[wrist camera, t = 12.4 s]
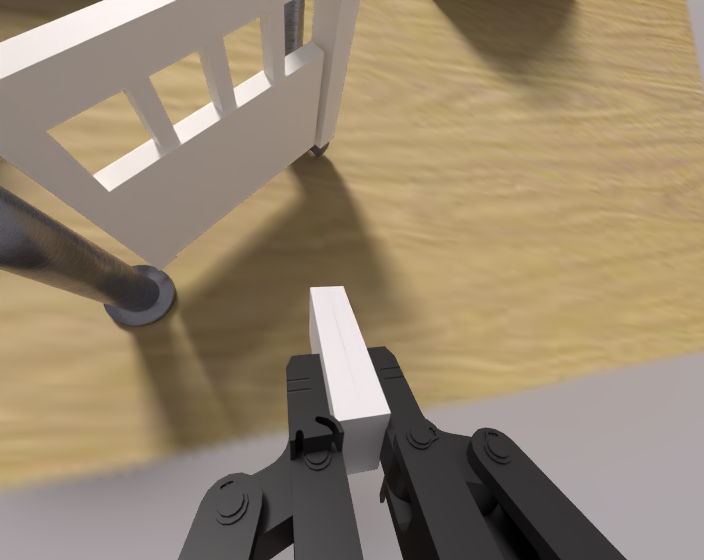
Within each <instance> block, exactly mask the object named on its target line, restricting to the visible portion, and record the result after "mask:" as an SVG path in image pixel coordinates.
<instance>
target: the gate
mask: <svg viewBox="0 0 704 560" xmlns="http://www.w3.org/2000/svg"><path fill="white" fill-rule="evenodd" d="M290 1H292V0H103V1H101V2H98V3H96V4H93V5H91V6H88V7H86V8H83V9H81V10H79V11H76V12H74V13H71V14H69V15H66V16H64V17H61V18H59V19H57V20H54V21H52V22H49V23H47V24H44V25H42V26H39V27H37V28H34V29H32V30H30V31H27V32H25V33H22V34H20V35H17V36H15V37H12V38H10V39H8V40H5V41H3V42H0V156H1V157H2V158H4V159H5V160H6V161H8V162H9V163H11V164H12V165H13V166H15V167H16V168H18V169H19V170H20V171H22V172H23V173H24V174H26V175H27V176H29V177H30V178H31V179H33V180H34V181H36V182H37V183H38V184H40V185H41V186H43V187H44V188H45V189H47V190H48V191H50V192H51V193H52V194H54V195H55V196H56V197H58V198H59V199H61V200H62V201H63V202H65V203H66V204H68V205H69V206H70V207H72V208H73V209H75V210H76V211H77V212H79V213H80V214H81V215H83V216H84V217H86V218H87V219H88V220H90V221H91V222H93V223H94V224H95V225H97V226H98V227H100V228H101V229H102V230H104V231H105V232H107V233H108V234H109V235H111V236H112V237H113V238H115V239H116V240H118V241H119V242H120V243H122V244H123V245H125V246H126V247H127V248H129V249H130V250H132V251H133V252H134V253H136V254H137V255H139V256H140V257H141V258H143V259H144V260H145V261H147V262H148V263H150V264H151V265H152V266H154V267H155V268H157V269H158V270H159V271H161V270H162V269H163V268H164V267H166V266H167V265H168V264H169V263H171V262H172V261H173V260H174V259H176V258H177V256H176V255H177V254H178V253H179V252H181V251H182V250H183V249H184V248H186V247H187V246H188V245H189V244H191V243H192V242H193V241H194V240H196V239H197V238H198V237H199V236H201V235H202V234H203V233H204V232H206V231H207V230H208V229H209V228H211V227H212V226H213V225H215V224H216V223H217V222H218V221H220V220H221V219H222V218H223V217H225V216H226V215H227V214H228V213H230V212H231V211H232V210H233V209H235V208H236V207H237V206H238V205H240V204H241V203H242V202H243V201H245V200H246V199H247V198H249V197H250V196H251V195H252V194H254V193H255V192H256V191H257V190H259V189H260V188H261V187H262V186H264V185H265V184H266V183H267V182H269V181H270V180H271V179H272V178H274V177H275V176H276V175H277V174H279V173H280V172H281V171H282V170H284V169H285V168H286V167H288V166H289V165H290V164H291V163H293V162H294V161H295V160H296V159H298V158H299V157H300V156H301V155H303V154H304V153H305V152H306V151H308V150H309V149H310V150H311V151H312V152H313V153H314V154H315V155H316V156H320V155H322V154H323V153H324V152H325V150H326V149H327V147H328V145H329V141H330V140H332V139H333V138H334V133H335V127H336V122H337V117H338V112H339V107H340V101H341V96H342V91H343V86H344V81H345V76H346V70H347V65H348V60H349V55H350V50H351V44H352V39H353V34H354V29H355V24H356V18H357V13H358V8H359V3H360V0H314V9H313V24H312V39H311V41H310V42H308V43H307V44H305V45H303V46H302V47H300V48H298V49H297V50H295V51H294V52H292V53H290V54H289V55H287V56H285V33H284V4H286V3H288V2H290ZM258 18H260V29H261V41H262V52H263V64H264V70H263V71H261V72H259V73H258V74H256V75H255V76H253V77H251V78H250V79H248V80H246V81H245V82H243V83H242V84H240V85H238V86H237V87H235V88H234V89H233V84H232V79H231V74H230V69H229V65H228V60H227V55H226V50H225V45H224V40H223V37H224V36H226V35H228V34H230V33H231V32H233V31H235V30H237V29H239V28H241V27H243V26H245V25H247V24H248V23H250V22H252V21H254V20H256V19H258ZM196 51H198V54H199V57H200V61H201V64H202V67H203V71H204V74H205V78H206V81H207V84H208V88H209V91H210V95H211V98H212V102H211V103H209V104H208V105H206V106H204V107H203V108H201V109H199V110H198V111H196V112H195V113H193V114H191V115H190V116H188V117H186V118H185V119H183V120H182V121H180V122H178V123H177V124H175V125H172V123H171V121H170V119H169V117H168V115H167V113H166V111H165V109H164V107H163V105H162V103H161V101H160V99H159V97H158V95H157V93H156V91H155V89H154V87H153V85H152V83H151V81H150V79H149V76H151V75H153V74H154V73H156V72H158V71H160V70H162V69H164V68H166V67H168V66H169V65H171V64H173V63H175V62H177V61H179V60H181V59H183V58H185V57H186V56H188V55H190V54H192V53H194V52H196ZM121 91H123V92H124V94H125V95H126V97H127V98H128V100H129V102H130V103H131V105H132V107H133V108H134V110H135V112H136V113H137V115H138V116H139V118H140V120H141V121H142V123H143V125H144V126H145V128H146V130H147V131H148V133H149V134H150V136H151V138H152V139H151V140H149V141H148V142H146V143H144V144H143V145H141V146H139V147H138V148H136V149H135V150H133V151H131V152H130V153H128V154H126V155H125V156H123V157H122V158H120V159H118V160H117V161H115V162H113V163H112V164H110V165H109V166H107V167H105V168H104V169H102V170H100V171H99V172H97V173H96V174H94V175H91V174H90V173H89V172H88V171H87V170H86V169H85V168H84V167H83V166H82V165H81V164H80V163H79V162H78V161H77V160H76V159H74V158H73V157H72V156H71V155H70V154H69V153H68V152H67V151H66V150H65V149H64V148H63V147H62V146H61V145H60V144H59V143H58V142H57V141H56V140H55V139H54V138H52V137H51V136H50V135H49V134H48V133H47V132H46V131H47V130H49V129H51V128H53V127H55V126H57V125H59V124H61V123H62V122H64V121H66V120H68V119H70V118H72V117H74V116H76V115H77V114H79V113H81V112H83V111H85V110H87V109H89V108H91V107H92V106H94V105H96V104H98V103H100V102H102V101H104V100H106V99H107V98H109V97H111V96H113V95H115V94H117V93H119V92H121Z"/></svg>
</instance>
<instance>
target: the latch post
mask: <svg viewBox="0 0 704 560" xmlns="http://www.w3.org/2000/svg"><path fill="white" fill-rule="evenodd" d="M304 6H305V0H292V1H290V2H288V3H286V4H284V33H285V56H287V55H289V54H290V53H292V52H294V51H295V50H297V49H298V48H300V47H302V46H303V30H304Z"/></svg>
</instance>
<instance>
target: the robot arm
mask: <svg viewBox="0 0 704 560" xmlns="http://www.w3.org/2000/svg"><path fill="white" fill-rule="evenodd" d="M309 337H310V343H311V350H312V354H309V355H298V356H292V357H291V359H290V361H289V363H288V365H287V367H286V373H287V400H288V424H289V441H288V444H287V447H286V449H285V451H284V452H283V454H282V455H281V456H280V457H279V458H278V459H277V460H276V462H274V463H273V464H271V465H270V466H268V467H266V468H265V469H263V470H261V471H259V472H257V473H255V474H254V475H248V474H244V473H235V474H229V475H228V476H226V477H224V478H222V479H220V480H218V481H217V482H216V483H215V484H214V485H213V486H212V487H211V488H210V489H209V490H208V491H207V493H206V495H205V496H204V498H203V500H202V502H201V504H200V506H199V509H198V511H197V514H196V516H195V519H194V521H193V523H192V526H191V528H190V531H189V534H188V536H187V539H186V541H185V543H184V546H183V548H182V551H181V554H180V556H179V559H178V560H270V559H271V558H273V557H274V556H276V555H277V554H278V553H280V552H281V551H283V550H284V549H285V548H287V547H288V546H290V545H291V544H293V543H294V560H363V555H362V549H361V544H360V539H359V535H358V530H357V524H356V519H355V514H354V509H353V504H352V499H351V494H350V489H349V484H348V478H347V475H349V474H354V473H359V472H364V471H369V470H375V469H378V466H379V461H381V464H382V468H383V471H384V475H385V476H384V480H383V483H382V487H381V491H380V503H383V502H384V500H385V497H386V499H387V503H388V507H389V511H390V514H391V518H392V521H393V525H394V528H395V532H396V535H397V539H398V543H399V546H400V550H401V554H402V557H403V560H627V559H626V558H625V557H624V556H623V555H622V554H621V553H620V552H619V551H618V550H617V549H616V548H615V547H614V546H613V545H612V544H611V543H610V542H609V541H608V540H607V538H606V537H604V535H603V534H602V533H601V532H600V531H599V530H598V529H597V528H596V527H595V526H594V525H593V524H592V523H591V522H590V521H589V520H588V519H587V518H586V517H585V516H584V515H583V514H582V512H581V511H580V510H579V509H578V508H577V507H576V506H575V505H574V504H573V503H572V502H571V501H570V500H569V499H568V498H567V497H566V496H565V495H564V494H563V493H562V492H561V491H560V489H559V488H558V487H557V486H556V485H555V484H554V483H553V482H552V481H551V480H550V479H549V478H548V477H547V476H546V475H545V474H544V473H543V472H542V471H541V470H540V469H539V468H538V467H537V466H536V465H535V463H533V461H532V460H530V458H529V457H528V456H527V455H526V454H525V453H524V452H523V451H522V450H521V449H520V448H519V447H518V446H517V445H516V444H515V443H514V442H513V441H512V440H511V439H510V438H509V437H508V436H506V435H505V434H504V433H502V432H500V431H497V430H496V429H491V428H481V429H478V430H477V431H476V432H475V433H474V434H473V436H472V437H468V436H463V435H457V434H451V433H447V432H443V431H441V430H439V429H437V427H436V426H435V425H434V424H433V423H431V422H430V421H429V420H427V419H425V417H424V416H423V414H422V412H421V410H420V408H419V406H418V404H417V402H416V400H415V398H414V396H413V394H412V392H411V389H410V387H409V385H408V383H407V381H406V379H405V378H404V375H403V373H402V371H401V369H400V366H399V364H398V362H397V360H396V358H395V356H394V355H393V354H392V353H391V352H390V351H389V350H388V349H387V348H386V347H385V346H384V347H373V348H366V346H365V343H364V340H363V338H362V335H361V332H360V330H359V327H358V324H357V322H356V319H355V316H354V314H353V311H352V308H351V306H350V303H349V300H348V298H347V295H346V292H345V290H344V287H343V286H333V287H310V319H309Z"/></svg>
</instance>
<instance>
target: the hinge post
mask: <svg viewBox="0 0 704 560" xmlns="http://www.w3.org/2000/svg"><path fill="white" fill-rule="evenodd" d="M0 269H1V270H4V271H7V272H10V273H13V274H16V275H19V276H22V277H26V278H29V279H32V280H35V281H38V282H41V283H44V284H47V285H50V286H53V287H56V288H59V289H62V290H65V291H68V292H71V293H74V294H77V295H80V296H83V297H86V298H90V299H93V300H96V301H99V302H102V303H104V307H105V309H106V311H107V313H108V314H109V315H110V316H111V317H112V318H113V319H114V320H116V321H118V322H120V323H123V324H127V325H131V326H143V325H148V324H151V323H154V322H156V321H158V320H159V319H161V318H162V317H163V316H165V315H166V314H167V313H168V311H169V310H170V309H171V307H172V306H173V303H174V300H175V295H176V290H175V286H174V283H173V281H172V280H171V278H170V277H169V276H168V275H167V274H166V273H164V272H163V271H162V270H161V271H159V270H158V269H157V268H155V267H153V266H148V265H137V266H132V267H131V266H130V265H128V264H126V263H125V262H123V261H121V260H120V259H118V258H117V257H115V256H113V255H112V254H110V253H108V252H107V251H105V250H104V249H102V248H100V247H99V246H97V245H95V244H94V243H92V242H91V241H89V240H87V239H86V238H84V237H82V236H81V235H79V234H78V233H76V232H74V231H73V230H71V229H70V228H68V227H66V226H65V225H63V224H61V223H60V222H58V221H57V220H55V219H53V218H52V217H50V216H48V215H47V214H45V213H44V212H42V211H40V210H39V209H37V208H35V207H34V206H32V205H31V204H29V203H27V202H26V201H24V200H22V199H21V198H19V197H18V196H16V195H14V194H13V193H11V192H9V191H8V190H6V189H5V188H3V187H1V186H0Z"/></svg>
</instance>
